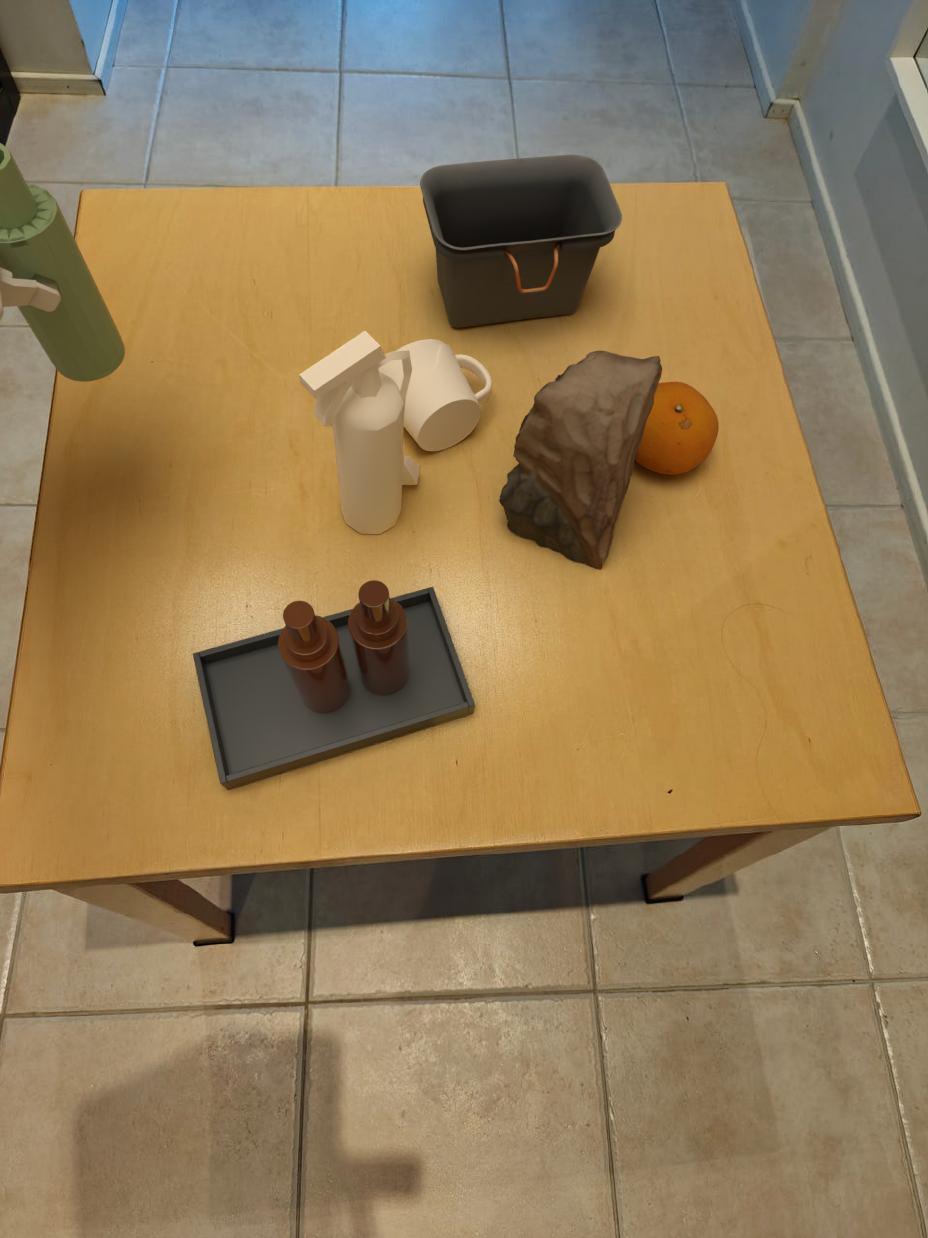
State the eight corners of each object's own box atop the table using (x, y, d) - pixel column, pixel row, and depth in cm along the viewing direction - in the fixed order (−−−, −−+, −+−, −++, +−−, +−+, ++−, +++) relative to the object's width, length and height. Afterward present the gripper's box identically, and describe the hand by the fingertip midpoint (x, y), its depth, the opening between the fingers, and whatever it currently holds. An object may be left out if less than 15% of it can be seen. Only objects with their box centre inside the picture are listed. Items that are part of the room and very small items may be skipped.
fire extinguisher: (442, 498, 87) (448, 330, 64) (353, 557, 83) (326, 401, 60) (405, 458, 89) (398, 281, 66) (317, 514, 85) (277, 347, 62)
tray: (227, 790, 73) (220, 784, 70) (200, 663, 78) (192, 653, 75) (473, 713, 77) (475, 705, 74) (432, 598, 82) (433, 586, 79)
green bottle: (58, 388, 66) (-62, 196, 50) (49, 337, 68) (-69, 137, 52) (130, 372, 67) (36, 179, 51) (119, 322, 70) (24, 121, 53)
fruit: (629, 494, 88) (648, 450, 81) (604, 419, 92) (619, 372, 85) (716, 480, 89) (742, 436, 82) (687, 407, 94) (709, 359, 86)
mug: (411, 463, 88) (410, 418, 81) (375, 404, 92) (371, 355, 84) (503, 425, 91) (510, 378, 84) (465, 369, 94) (468, 318, 87)
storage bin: (574, 250, 103) (595, 146, 90) (608, 339, 97) (636, 241, 84) (416, 270, 101) (414, 166, 88) (440, 362, 95) (443, 265, 82)
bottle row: (306, 720, 75) (273, 652, 59) (293, 673, 77) (259, 595, 61) (416, 687, 77) (413, 612, 61) (401, 642, 79) (395, 558, 63)
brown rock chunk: (491, 529, 85) (509, 409, 67) (536, 444, 90) (563, 311, 72) (599, 574, 84) (647, 463, 65) (638, 485, 89) (693, 359, 70)
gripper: (-162, 242, 43) (89, 334, 54) (-171, 27, 51) (50, 145, 62) (-192, 320, 47) (50, 393, 57) (-196, 108, 54) (18, 207, 65)
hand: (50, 263), depth 59 cm, fingers closed on green bottle, 6 cm apart
